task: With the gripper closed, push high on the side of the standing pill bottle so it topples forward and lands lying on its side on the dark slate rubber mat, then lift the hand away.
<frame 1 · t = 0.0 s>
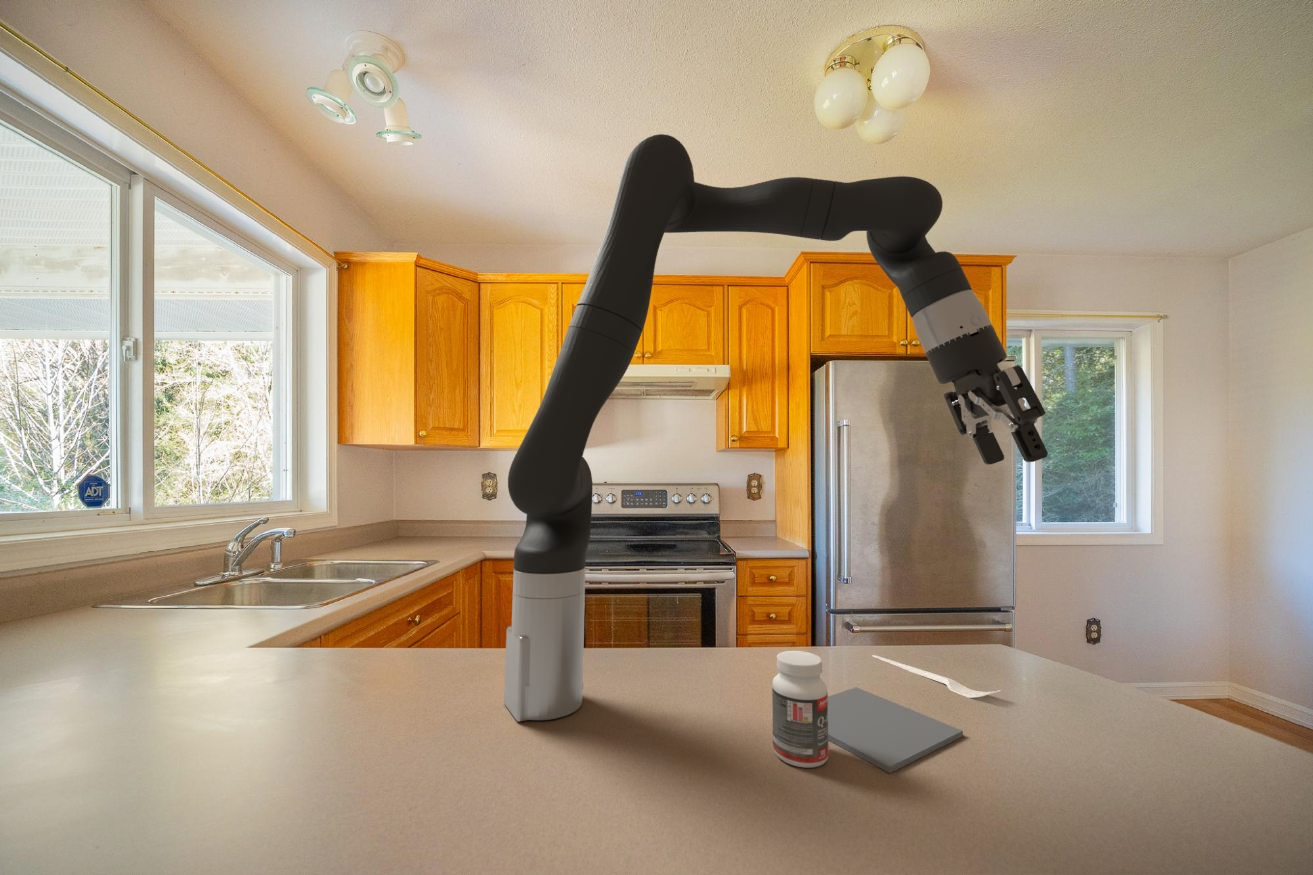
hand: (1015, 461, 59), 31 cm above the counter, tool tilted 20°, fingers open, 8 cm apart
fork: (927, 680, 74), on the counter
pill bottle: (800, 756, 53), on the counter
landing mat: (870, 725, 59), on the counter
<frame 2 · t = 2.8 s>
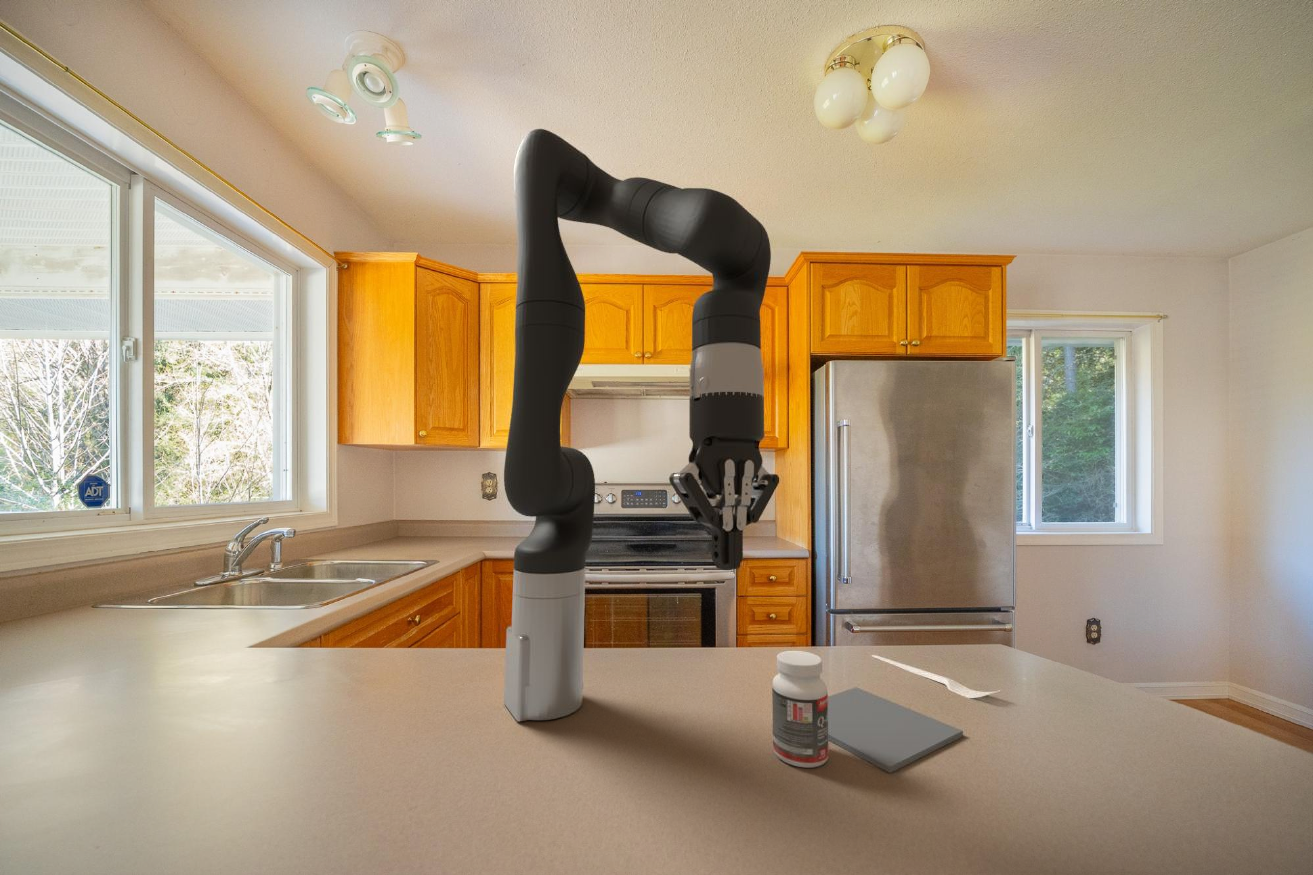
hand: (727, 568, 49), 20 cm above the counter, tool pointing down, fingers closed
nothing on the counter moved.
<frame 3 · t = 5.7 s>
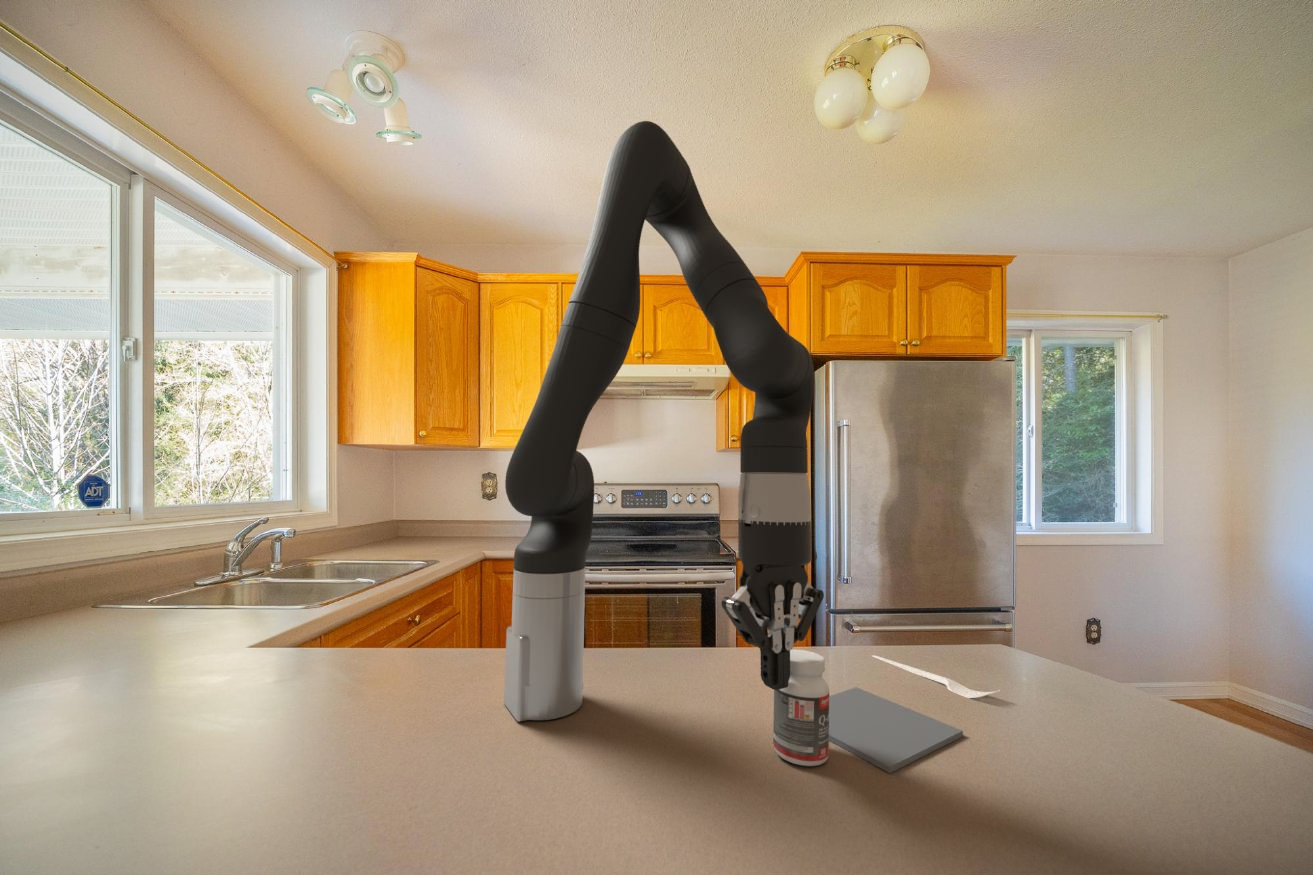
hand: (775, 686, 51), 8 cm above the counter, tool pointing down, fingers closed
pill bottle: (800, 755, 53), on the counter, touching gripper
everything else where it was.
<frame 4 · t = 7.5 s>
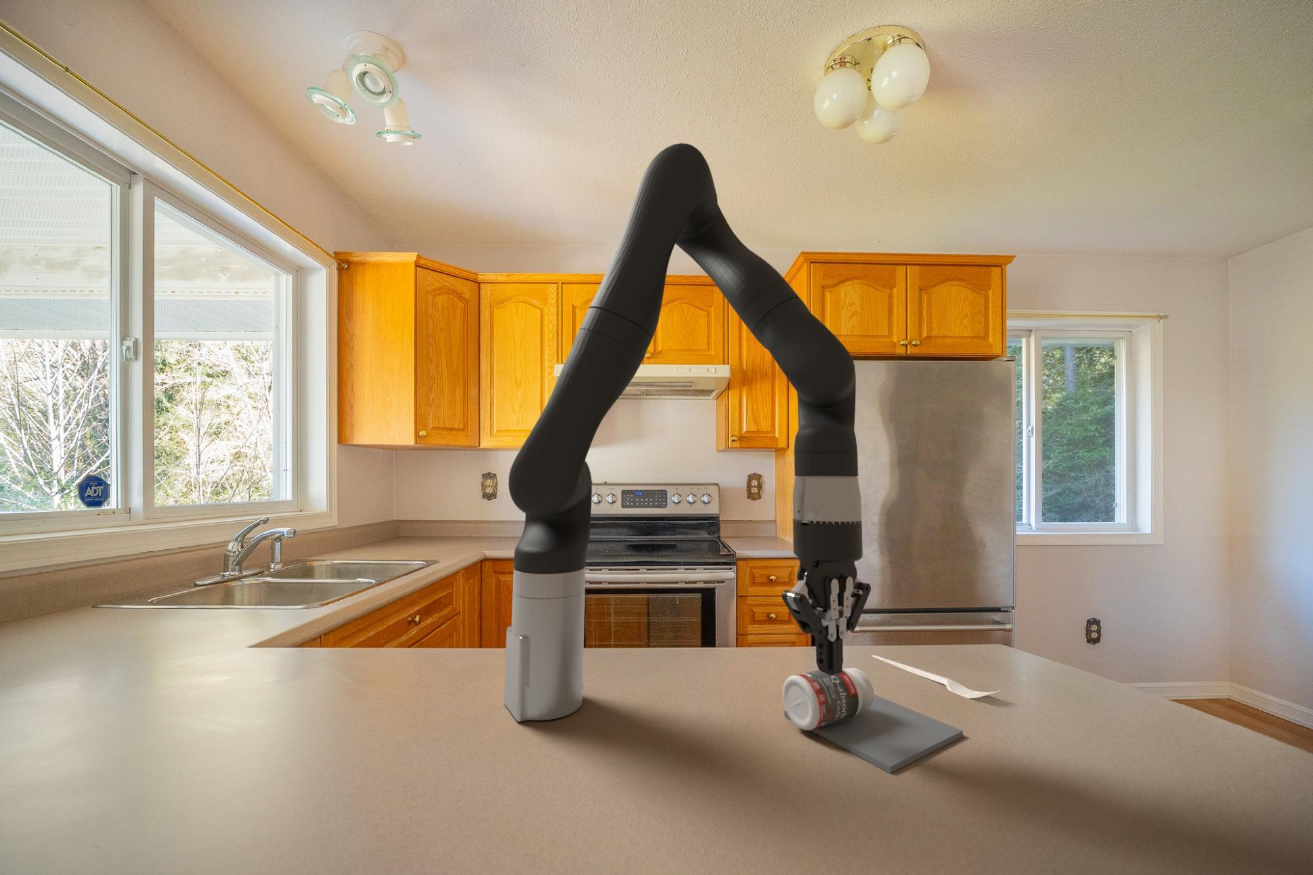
hand: (829, 671, 56), 8 cm above the counter, tool pointing down, fingers closed
pill bottle: (795, 703, 57), point 3 cm above the counter, touching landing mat
everything else where it was.
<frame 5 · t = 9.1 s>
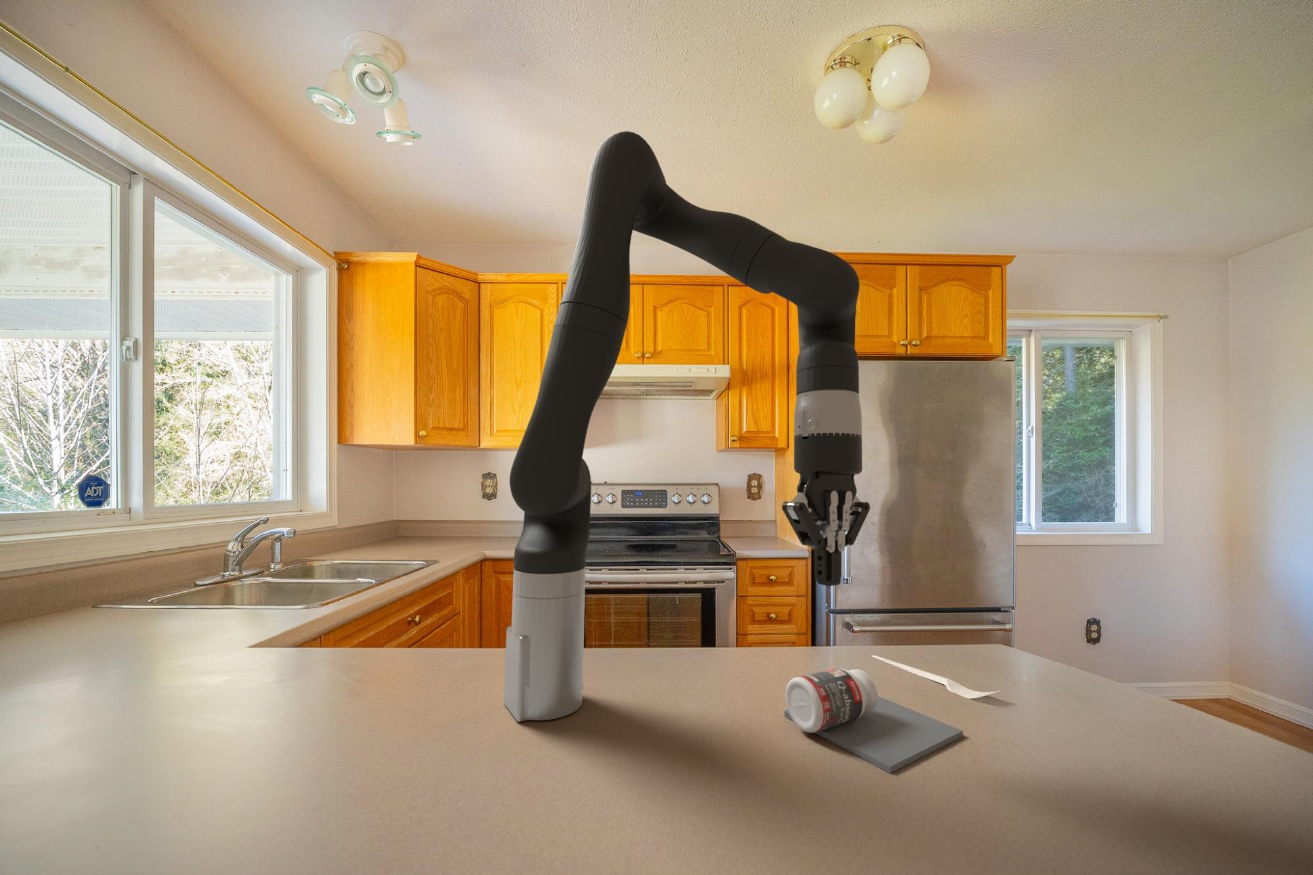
hand: (828, 584, 57), 17 cm above the counter, tool pointing down, fingers closed
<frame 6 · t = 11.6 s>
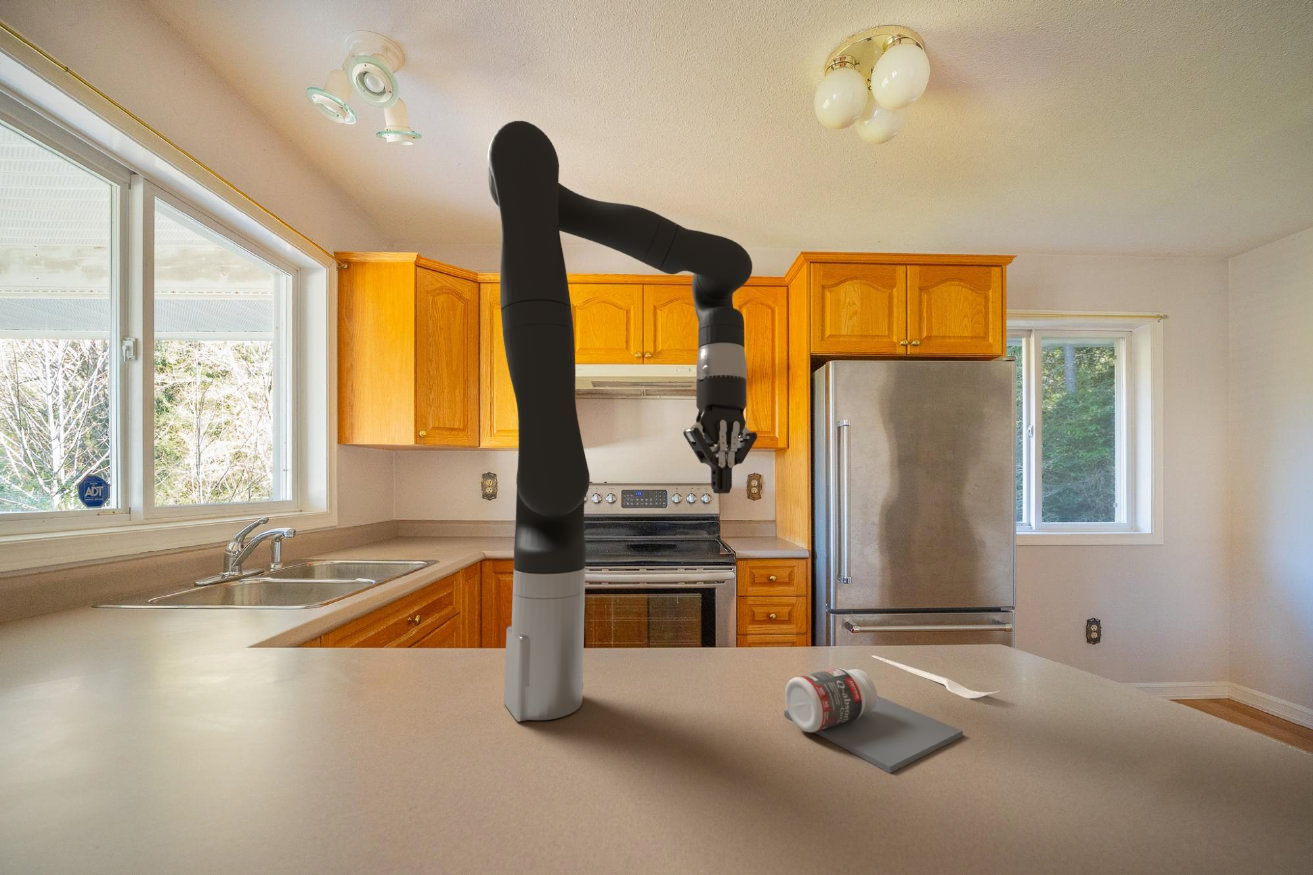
hand: (721, 493, 74), 27 cm above the counter, tool pointing down, fingers closed
nothing on the counter moved.
at the end: pill bottle tilted 89°; pill bottle touching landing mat; the gripper is holding nothing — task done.
